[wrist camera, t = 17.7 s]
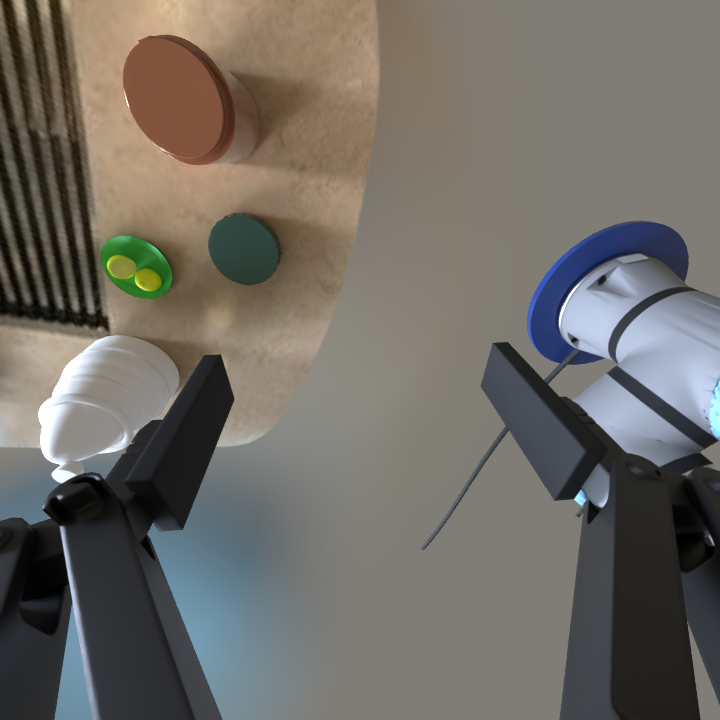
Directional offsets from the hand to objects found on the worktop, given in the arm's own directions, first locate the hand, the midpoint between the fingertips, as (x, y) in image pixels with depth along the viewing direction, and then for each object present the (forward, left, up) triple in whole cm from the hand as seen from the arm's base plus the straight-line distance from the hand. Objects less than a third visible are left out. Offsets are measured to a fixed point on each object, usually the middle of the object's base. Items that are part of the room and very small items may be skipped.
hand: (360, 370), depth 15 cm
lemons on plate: (-3, +26, -29) cm, 39 cm away
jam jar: (+12, +12, -29) cm, 33 cm away
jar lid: (-1, +12, -27) cm, 30 cm away
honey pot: (-19, +33, -29) cm, 48 cm away
